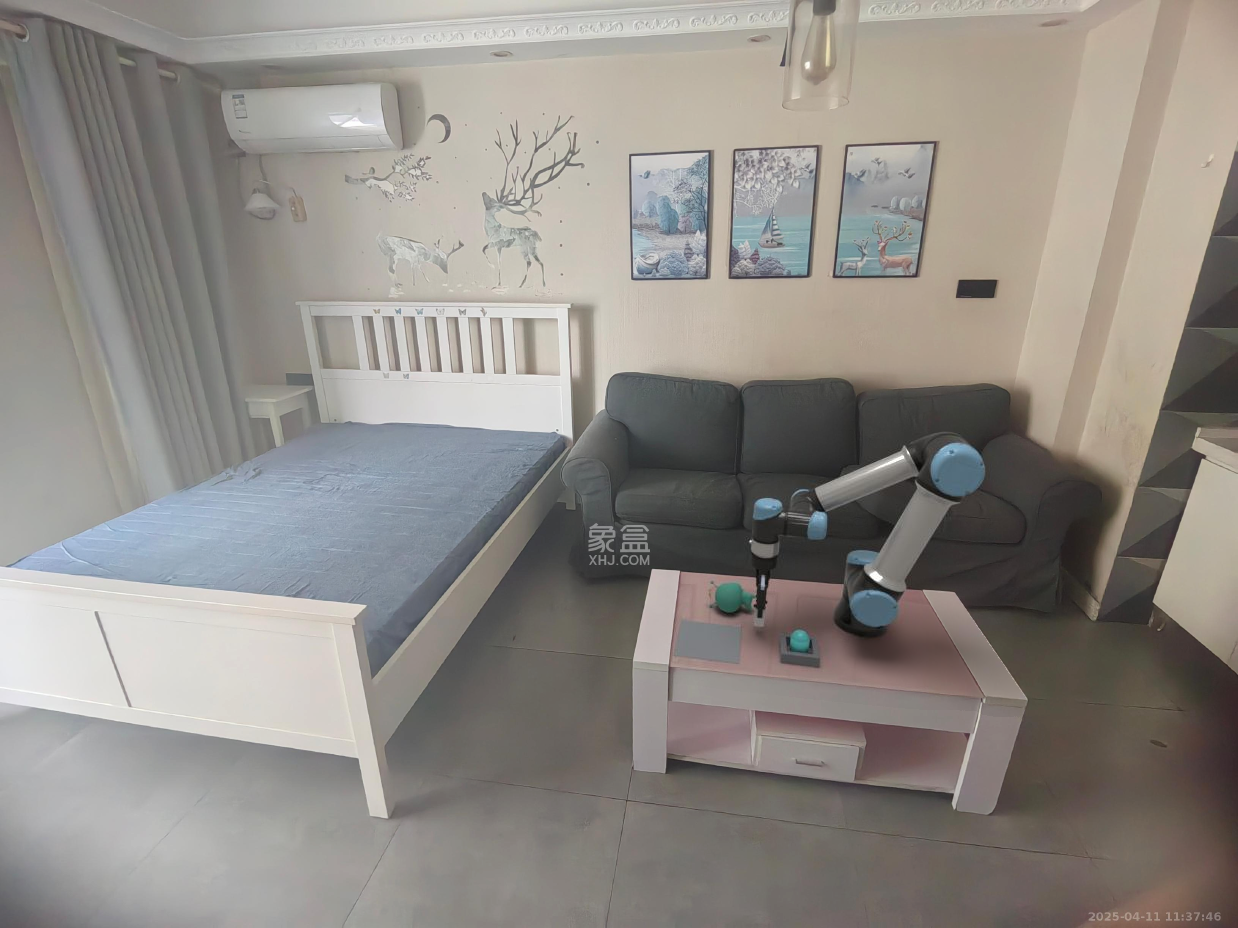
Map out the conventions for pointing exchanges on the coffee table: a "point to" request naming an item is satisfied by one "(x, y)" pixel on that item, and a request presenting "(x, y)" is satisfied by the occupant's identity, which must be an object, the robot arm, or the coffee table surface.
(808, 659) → the dome housing
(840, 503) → the robot arm
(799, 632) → the dome
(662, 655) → the coffee table surface
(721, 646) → the mat
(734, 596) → the toy
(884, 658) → the coffee table surface
